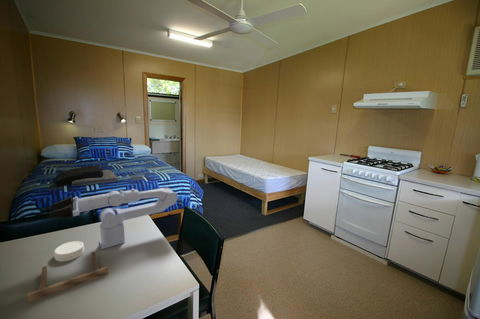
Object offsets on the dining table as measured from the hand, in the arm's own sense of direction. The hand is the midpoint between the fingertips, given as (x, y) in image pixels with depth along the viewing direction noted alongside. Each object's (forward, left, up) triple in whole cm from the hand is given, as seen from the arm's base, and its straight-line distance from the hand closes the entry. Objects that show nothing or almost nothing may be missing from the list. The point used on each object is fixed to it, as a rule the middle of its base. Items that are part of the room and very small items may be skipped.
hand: (50, 211), depth 85 cm
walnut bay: (-5, +15, -20) cm, 26 cm away
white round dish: (-5, +1, -21) cm, 21 cm away
